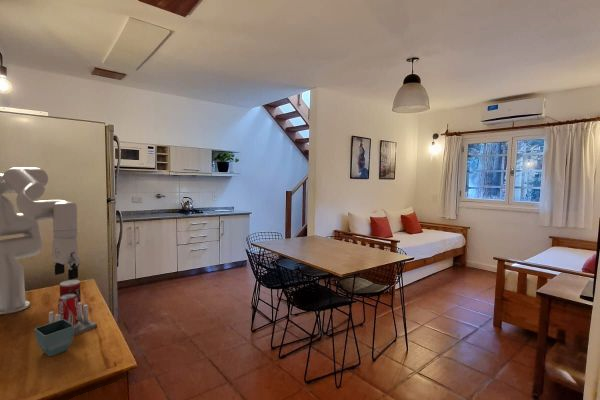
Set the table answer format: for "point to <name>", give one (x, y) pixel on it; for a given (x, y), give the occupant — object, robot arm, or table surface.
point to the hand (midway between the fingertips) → (66, 276)
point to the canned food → (71, 288)
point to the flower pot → (54, 337)
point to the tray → (82, 322)
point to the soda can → (68, 308)
